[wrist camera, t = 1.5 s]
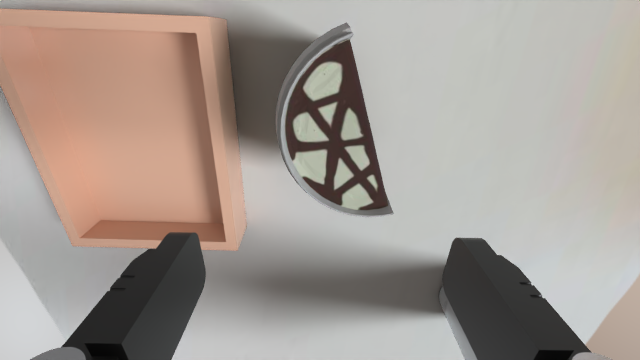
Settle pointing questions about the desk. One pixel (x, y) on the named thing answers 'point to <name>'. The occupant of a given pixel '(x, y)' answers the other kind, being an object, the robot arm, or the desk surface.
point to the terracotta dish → (128, 123)
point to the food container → (330, 129)
